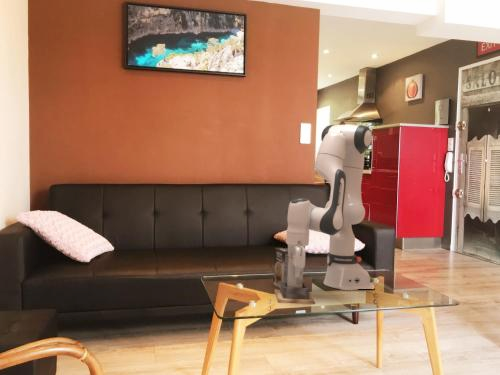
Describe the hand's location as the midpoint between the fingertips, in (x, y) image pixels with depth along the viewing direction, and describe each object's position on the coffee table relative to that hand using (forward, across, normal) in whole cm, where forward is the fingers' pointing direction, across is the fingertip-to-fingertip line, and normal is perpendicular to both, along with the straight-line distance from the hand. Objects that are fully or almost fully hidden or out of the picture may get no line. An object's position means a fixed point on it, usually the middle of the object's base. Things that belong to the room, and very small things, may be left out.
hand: (295, 274), depth 169 cm
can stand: (+9, 0, 0) cm, 9 cm away
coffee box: (+9, +16, +2) cm, 19 cm away
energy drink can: (+7, 0, 0) cm, 7 cm away
